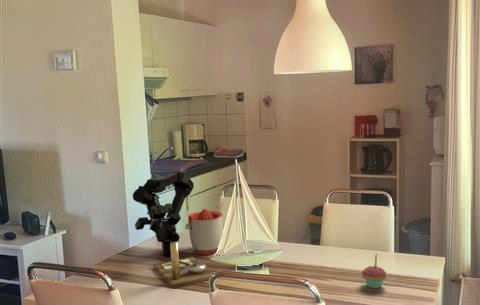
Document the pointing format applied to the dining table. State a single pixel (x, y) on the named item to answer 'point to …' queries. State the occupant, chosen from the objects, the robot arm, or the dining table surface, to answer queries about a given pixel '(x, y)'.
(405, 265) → the dining table surface
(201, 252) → the citrus juicer
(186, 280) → the level stand
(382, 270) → the cupcake
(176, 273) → the capstan cam
